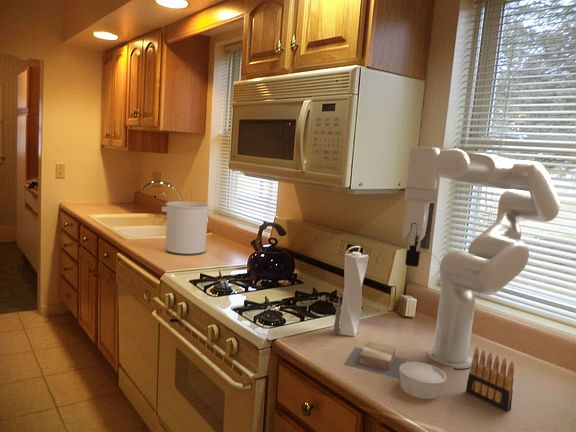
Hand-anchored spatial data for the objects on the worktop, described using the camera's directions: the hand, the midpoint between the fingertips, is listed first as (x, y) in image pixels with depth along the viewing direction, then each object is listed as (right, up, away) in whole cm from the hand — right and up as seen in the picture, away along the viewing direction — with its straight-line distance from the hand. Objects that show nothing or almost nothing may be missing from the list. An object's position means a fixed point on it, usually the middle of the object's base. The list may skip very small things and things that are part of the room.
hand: (411, 265), depth 124 cm
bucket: (-85, -5, +121) cm, 148 cm away
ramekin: (0, -31, -6) cm, 31 cm away
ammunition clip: (+16, -32, -8) cm, 37 cm away
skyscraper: (-13, -25, +27) cm, 39 cm away
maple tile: (-9, -26, +4) cm, 28 cm away
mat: (-8, -28, +7) cm, 30 cm away
